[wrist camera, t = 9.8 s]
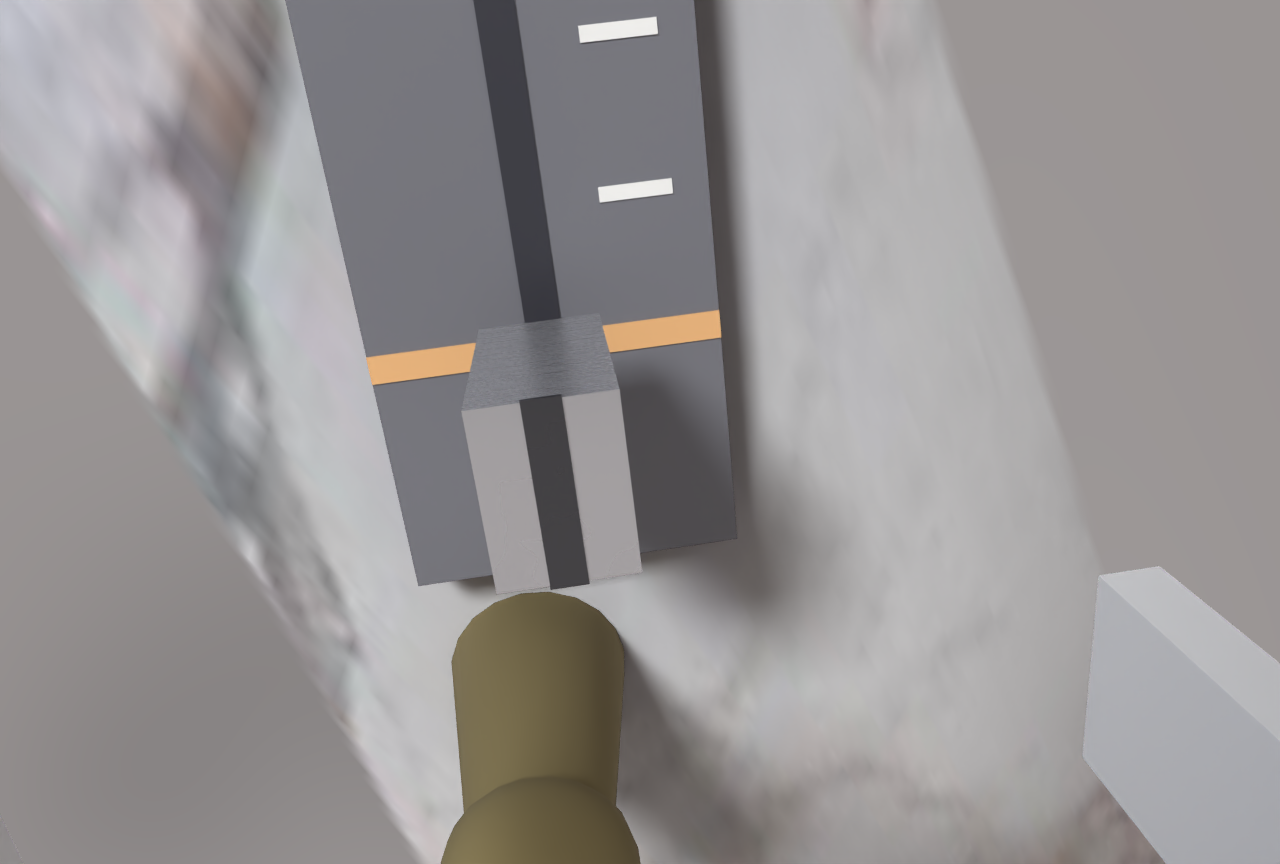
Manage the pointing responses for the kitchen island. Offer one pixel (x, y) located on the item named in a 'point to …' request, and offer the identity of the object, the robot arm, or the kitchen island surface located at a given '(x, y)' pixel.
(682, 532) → the fader console
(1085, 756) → the robot arm
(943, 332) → the kitchen island surface
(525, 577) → the fader knob
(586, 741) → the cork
